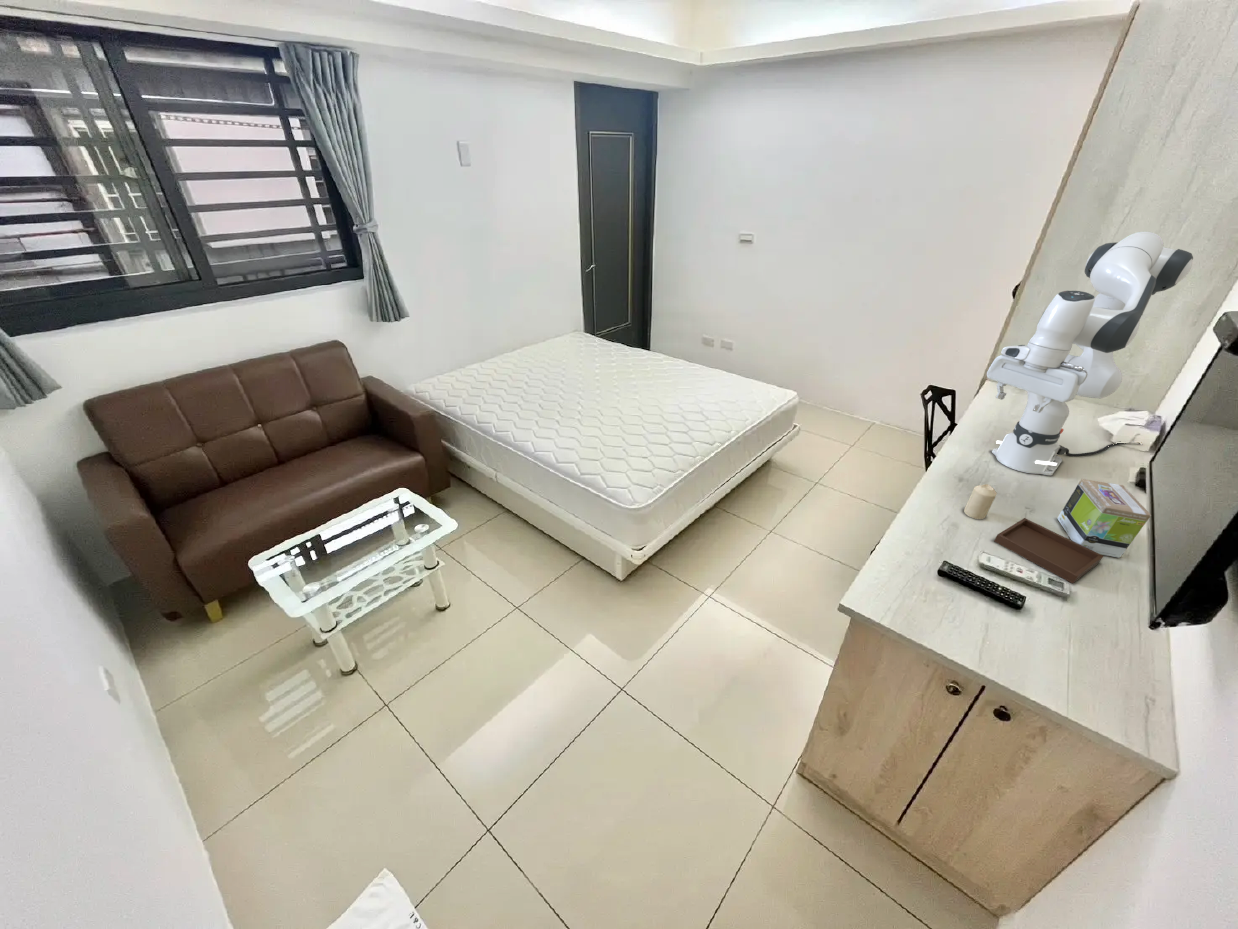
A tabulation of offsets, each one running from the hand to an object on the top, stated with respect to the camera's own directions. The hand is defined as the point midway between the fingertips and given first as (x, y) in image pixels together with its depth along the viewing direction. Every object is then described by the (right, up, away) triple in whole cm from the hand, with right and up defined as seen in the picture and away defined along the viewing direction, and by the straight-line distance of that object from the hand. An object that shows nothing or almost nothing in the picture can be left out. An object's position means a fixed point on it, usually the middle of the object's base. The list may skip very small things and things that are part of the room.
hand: (1017, 404), depth 133 cm
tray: (+6, -40, -2) cm, 41 cm away
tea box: (+22, -37, +3) cm, 43 cm away
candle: (-3, -32, +13) cm, 34 cm away
